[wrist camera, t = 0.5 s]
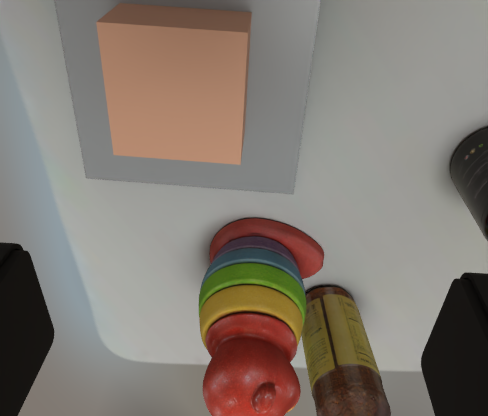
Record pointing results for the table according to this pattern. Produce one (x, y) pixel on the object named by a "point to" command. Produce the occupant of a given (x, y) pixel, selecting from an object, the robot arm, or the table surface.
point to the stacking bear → (255, 316)
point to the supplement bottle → (473, 176)
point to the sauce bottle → (340, 357)
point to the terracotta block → (176, 81)
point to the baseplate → (257, 107)
